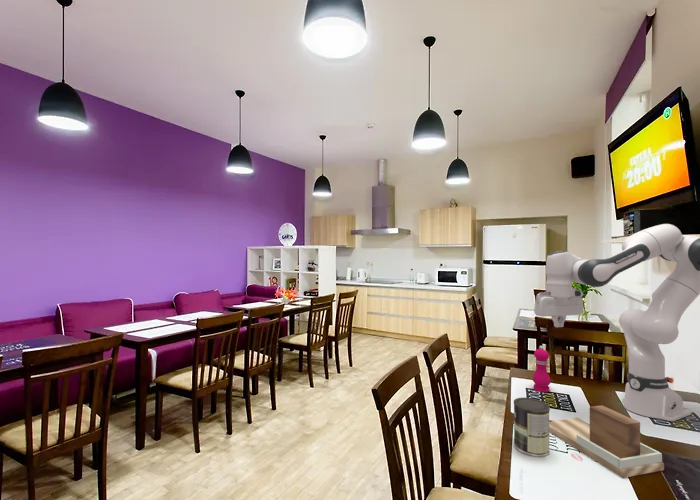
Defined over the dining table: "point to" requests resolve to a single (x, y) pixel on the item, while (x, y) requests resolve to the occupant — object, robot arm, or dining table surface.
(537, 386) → the pepper mill
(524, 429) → the coffee can
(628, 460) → the sage frame
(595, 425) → the walnut box
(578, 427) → the birch board
